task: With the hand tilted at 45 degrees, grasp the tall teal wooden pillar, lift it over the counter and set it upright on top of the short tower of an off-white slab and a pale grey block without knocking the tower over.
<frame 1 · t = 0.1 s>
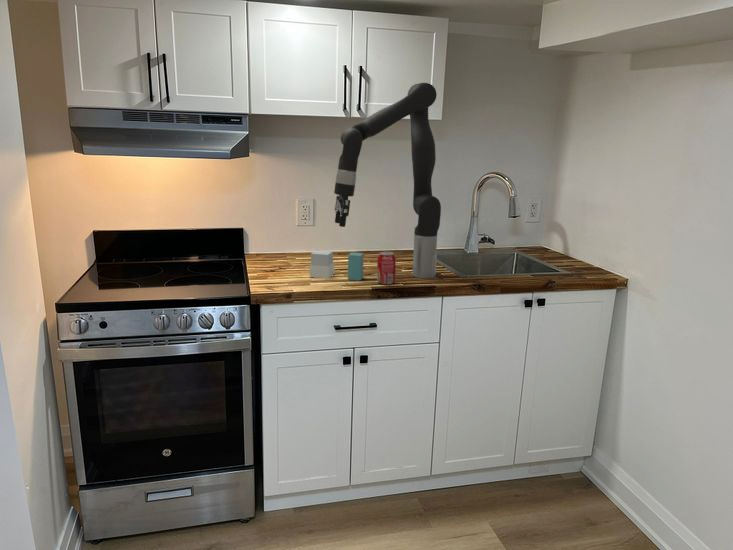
hand: (339, 224, 210), 22 cm above the worktop, tool pointing down, fingers open, 8 cm apart
soda can: (385, 283, 214), on the worktop
pillar: (355, 278, 220), on the worktop
tower top: (322, 264, 221), point 5 cm above the worktop
tower base: (322, 276, 223), on the worktop
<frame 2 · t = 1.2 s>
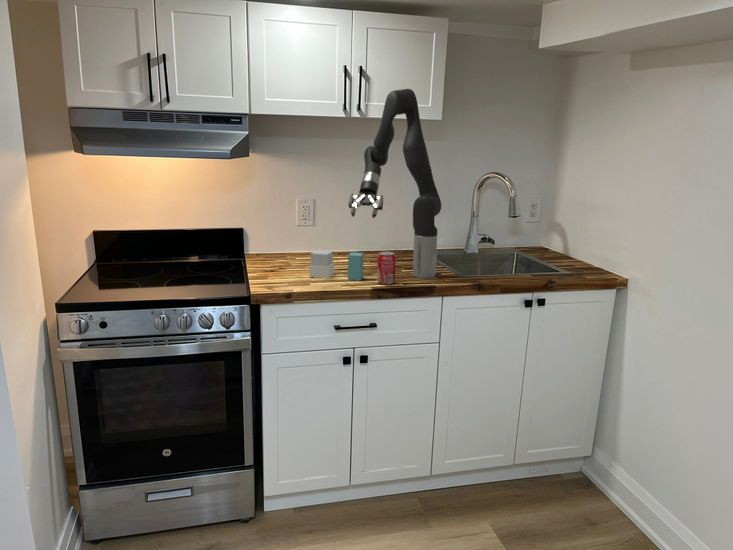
hand: (363, 216, 224), 24 cm above the worktop, tool tilted 45°, fingers open, 8 cm apart
nothing on the worktop moved.
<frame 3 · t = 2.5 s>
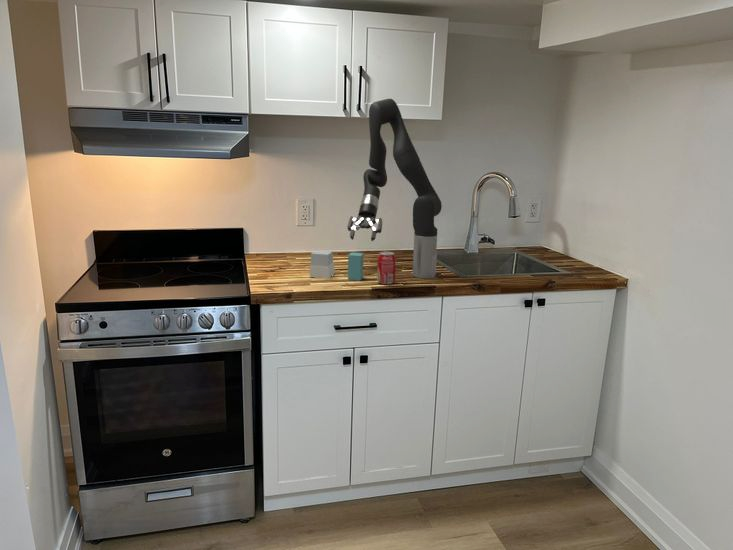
hand: (362, 239, 226), 14 cm above the worktop, tool tilted 45°, fingers open, 8 cm apart
tower top: (322, 264, 221), point 5 cm above the worktop, touching tower base
tower base: (322, 276, 223), on the worktop, touching tower top
everything else where it was.
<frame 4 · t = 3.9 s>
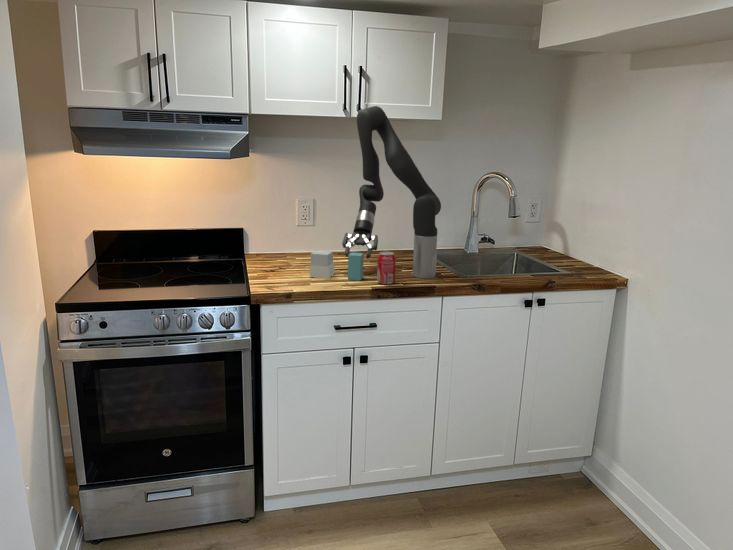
hand: (357, 256, 220), 8 cm above the worktop, tool tilted 45°, fingers open, 8 cm apart
nothing on the worktop moved.
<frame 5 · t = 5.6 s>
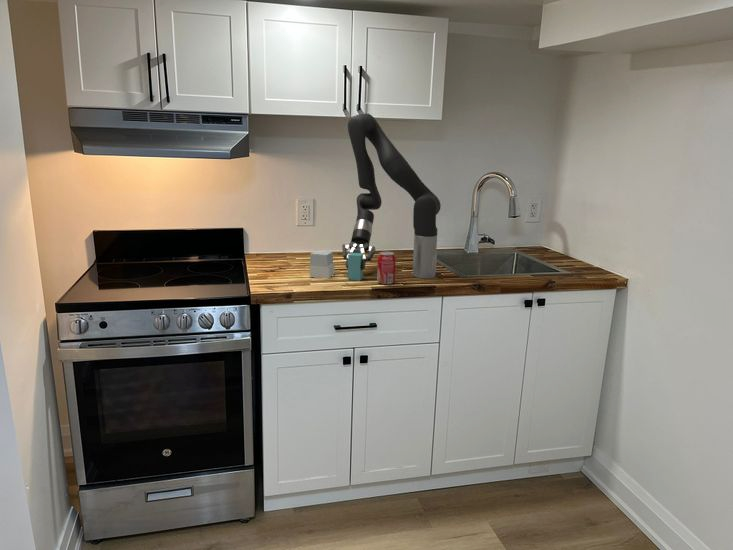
hand: (354, 268, 217), 5 cm above the worktop, tool tilted 45°, fingers closed on pillar, 5 cm apart
pillar: (355, 278, 220), on the worktop, touching gripper
everything else where it was.
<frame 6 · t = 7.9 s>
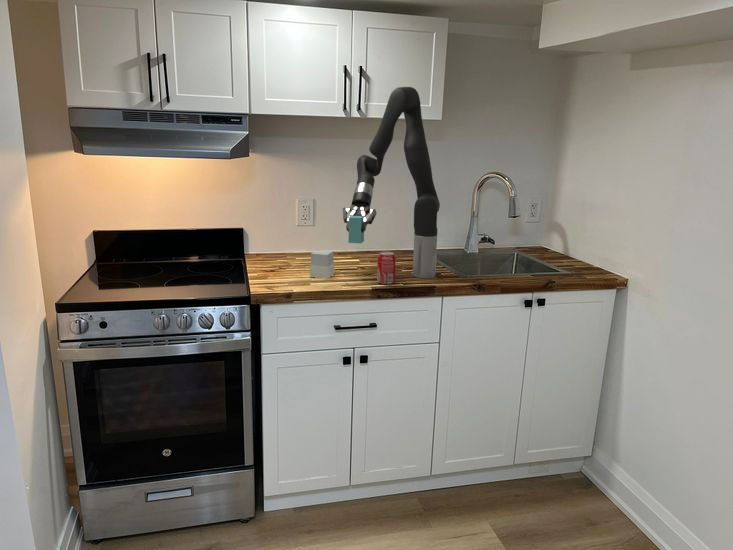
hand: (355, 230, 213), 20 cm above the worktop, tool tilted 45°, fingers closed on pillar, 5 cm apart
pillar: (356, 241, 216), point 15 cm above the worktop, touching gripper
everything else where it was.
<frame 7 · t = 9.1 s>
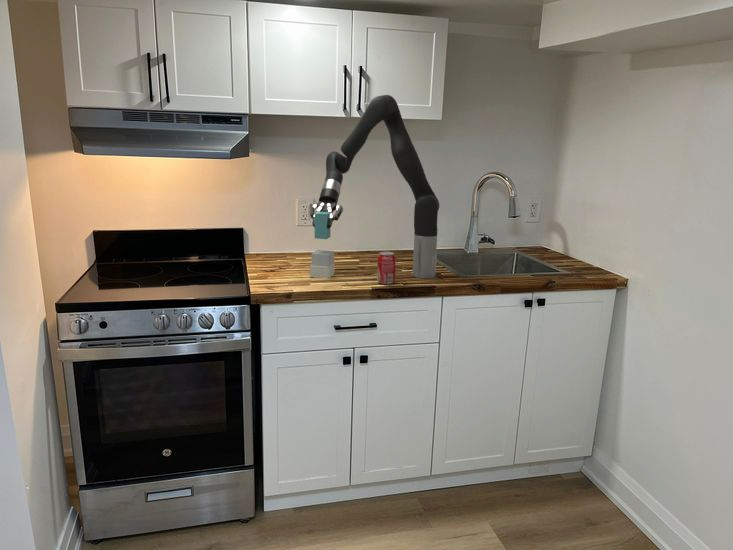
hand: (321, 226, 216), 20 cm above the worktop, tool tilted 45°, fingers closed on pillar, 5 cm apart
pillar: (322, 237, 219), point 16 cm above the worktop, touching gripper
everything else where it was.
when the fingers open (16 cm above the worktop, at t = 10.5 s): pillar drops 2 cm, resting on tower top.
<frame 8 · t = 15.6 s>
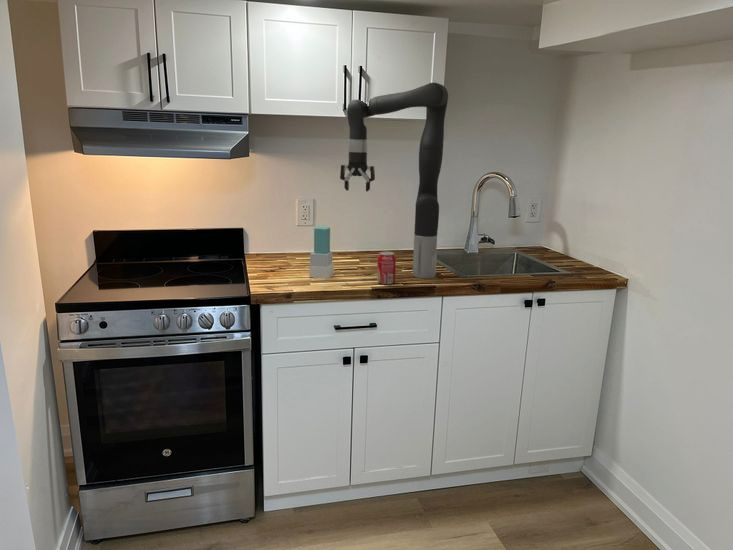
hand: (357, 190, 228), 33 cm above the worktop, tool pointing down, fingers open, 8 cm apart
pillar: (322, 252, 220), point 10 cm above the worktop, touching tower top
tower top: (321, 264, 221), point 5 cm above the worktop, touching pillar, tower base
everything else where it was.
at the end: pillar 0.2 cm off-centre on the tower base, point 10.0 cm above the tower base's base; pillar tilted 1°; tower top 0.2 cm off-centre on the tower base, point 5.0 cm above the tower base's base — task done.
